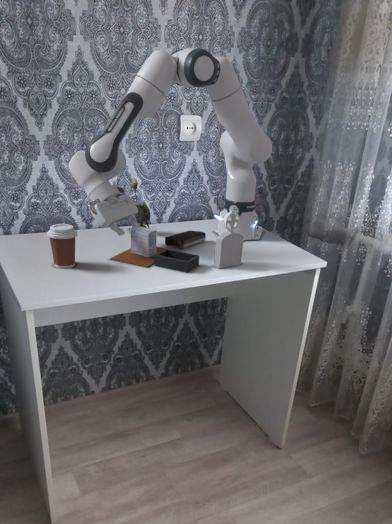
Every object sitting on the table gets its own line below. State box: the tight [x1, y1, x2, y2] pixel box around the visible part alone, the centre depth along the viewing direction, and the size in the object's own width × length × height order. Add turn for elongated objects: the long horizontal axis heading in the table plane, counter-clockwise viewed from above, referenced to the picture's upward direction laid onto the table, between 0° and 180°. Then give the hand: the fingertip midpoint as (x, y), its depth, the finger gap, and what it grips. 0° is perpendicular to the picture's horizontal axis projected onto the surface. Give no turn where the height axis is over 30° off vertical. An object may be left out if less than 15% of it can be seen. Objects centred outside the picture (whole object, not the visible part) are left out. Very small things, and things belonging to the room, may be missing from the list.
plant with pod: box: [128, 178, 152, 232], centre depth 187 cm, size 8×11×20 cm
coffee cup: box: [46, 223, 78, 269], centre depth 152 cm, size 9×9×12 cm
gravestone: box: [213, 210, 244, 269], centre depth 159 cm, size 3×9×18 cm, turn 127°
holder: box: [153, 248, 200, 274], centre depth 159 cm, size 8×12×4 cm
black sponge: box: [164, 230, 207, 249], centre depth 180 cm, size 16×8×4 cm, turn 143°
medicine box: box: [130, 226, 157, 258], centre depth 165 cm, size 8×4×9 cm, turn 56°
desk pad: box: [109, 246, 171, 268], centre depth 167 cm, size 20×14×1 cm
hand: (130, 231), depth 165 cm, fingers open, 8 cm apart
